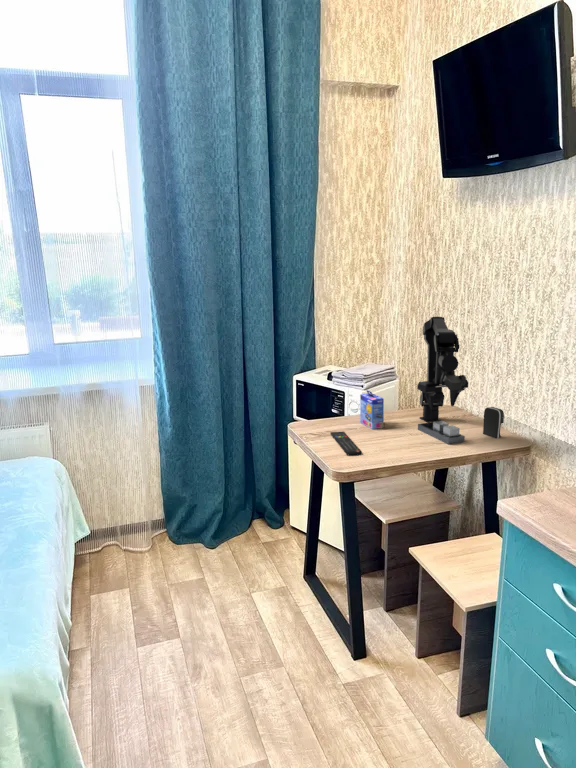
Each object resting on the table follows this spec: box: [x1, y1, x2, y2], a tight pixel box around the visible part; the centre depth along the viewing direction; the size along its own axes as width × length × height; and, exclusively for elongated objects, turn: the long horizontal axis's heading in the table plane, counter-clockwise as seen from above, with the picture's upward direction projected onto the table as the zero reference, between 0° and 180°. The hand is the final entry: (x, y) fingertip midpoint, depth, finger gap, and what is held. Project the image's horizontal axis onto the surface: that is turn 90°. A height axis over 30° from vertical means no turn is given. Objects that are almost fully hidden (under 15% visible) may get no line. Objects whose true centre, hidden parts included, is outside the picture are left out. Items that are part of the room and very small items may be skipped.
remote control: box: [330, 431, 363, 457], centre depth 209 cm, size 5×24×1 cm, turn 10°
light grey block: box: [443, 424, 460, 438], centre depth 209 cm, size 4×4×5 cm
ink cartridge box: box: [359, 389, 385, 430], centre depth 229 cm, size 10×6×14 cm, turn 23°
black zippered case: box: [482, 406, 505, 439], centre depth 213 cm, size 7×4×11 cm, turn 30°
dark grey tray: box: [417, 422, 466, 446], centre depth 215 cm, size 19×7×3 cm, turn 22°
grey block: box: [433, 420, 450, 433], centre depth 214 cm, size 4×4×5 cm
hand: (441, 407), depth 212 cm, fingers open, 9 cm apart
